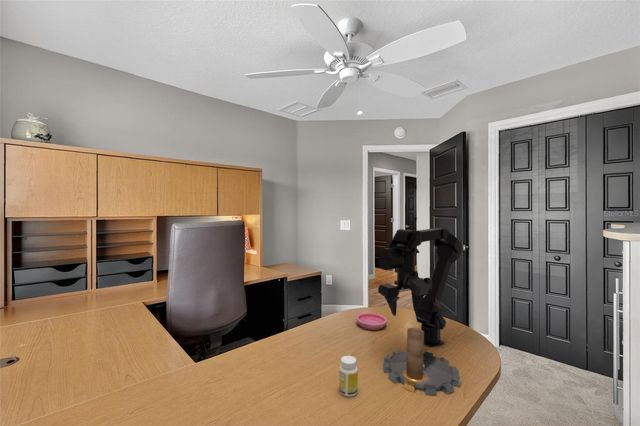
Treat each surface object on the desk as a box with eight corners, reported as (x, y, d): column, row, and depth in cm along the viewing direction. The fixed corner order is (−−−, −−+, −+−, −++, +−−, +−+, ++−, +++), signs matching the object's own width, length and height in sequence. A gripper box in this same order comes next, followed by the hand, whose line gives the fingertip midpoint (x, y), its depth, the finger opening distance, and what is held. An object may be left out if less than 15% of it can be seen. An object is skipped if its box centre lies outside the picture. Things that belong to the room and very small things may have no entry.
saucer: (384, 320, 123) (385, 313, 123) (388, 333, 111) (388, 325, 111) (355, 319, 125) (356, 311, 125) (356, 331, 112) (356, 323, 112)
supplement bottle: (359, 388, 76) (359, 356, 76) (355, 399, 72) (355, 365, 72) (341, 384, 78) (342, 353, 78) (337, 394, 73) (337, 362, 73)
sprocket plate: (420, 348, 98) (420, 342, 98) (477, 382, 79) (477, 374, 79) (369, 362, 89) (369, 354, 89) (419, 404, 70) (420, 395, 70)
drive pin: (407, 369, 82) (407, 326, 82) (423, 372, 81) (424, 329, 81) (405, 377, 78) (406, 332, 78) (422, 381, 77) (423, 335, 77)
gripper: (400, 274, 84) (399, 327, 84) (445, 269, 92) (444, 317, 92) (377, 267, 94) (376, 314, 94) (420, 263, 102) (419, 307, 102)
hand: (405, 313), depth 96 cm, fingers open, 9 cm apart
